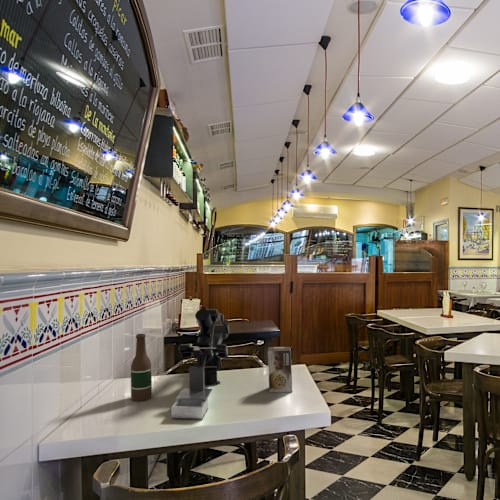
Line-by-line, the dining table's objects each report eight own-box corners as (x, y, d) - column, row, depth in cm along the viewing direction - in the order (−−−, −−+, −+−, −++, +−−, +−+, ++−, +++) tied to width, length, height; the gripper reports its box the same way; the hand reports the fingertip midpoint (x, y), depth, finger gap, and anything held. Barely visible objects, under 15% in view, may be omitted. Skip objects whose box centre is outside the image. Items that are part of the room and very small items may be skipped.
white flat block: (179, 408, 129) (179, 397, 129) (208, 409, 128) (207, 397, 128) (171, 419, 120) (171, 407, 120) (202, 420, 119) (201, 407, 119)
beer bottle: (146, 402, 136) (145, 336, 137) (126, 401, 137) (126, 336, 138) (155, 395, 143) (154, 332, 144) (137, 394, 145) (136, 332, 146)
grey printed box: (292, 387, 149) (291, 346, 149) (292, 392, 142) (291, 350, 143) (269, 386, 150) (268, 346, 150) (268, 392, 143) (267, 350, 144)
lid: (183, 390, 135) (183, 366, 136) (212, 390, 134) (211, 366, 135) (175, 399, 126) (175, 374, 126) (206, 400, 125) (206, 374, 125)
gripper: (231, 346, 155) (227, 381, 144) (187, 346, 157) (180, 380, 146) (227, 330, 148) (223, 366, 137) (182, 331, 150) (174, 366, 138)
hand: (200, 370), depth 140 cm, fingers closed
